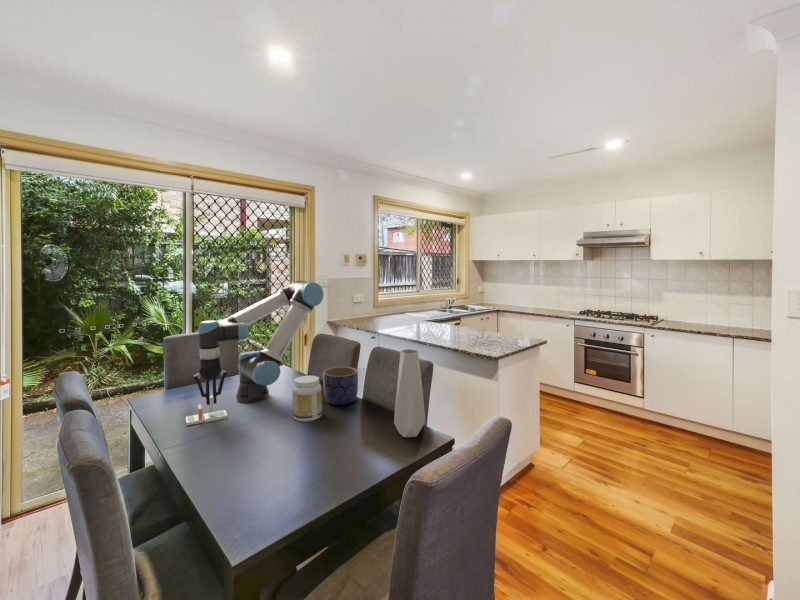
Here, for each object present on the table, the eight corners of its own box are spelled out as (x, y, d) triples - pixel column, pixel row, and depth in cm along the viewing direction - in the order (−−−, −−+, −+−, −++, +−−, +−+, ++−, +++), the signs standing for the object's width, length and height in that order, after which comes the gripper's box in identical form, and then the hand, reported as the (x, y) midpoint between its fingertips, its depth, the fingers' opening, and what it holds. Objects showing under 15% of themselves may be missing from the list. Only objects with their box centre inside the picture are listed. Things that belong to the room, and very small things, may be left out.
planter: (365, 399, 183) (365, 369, 182) (342, 410, 170) (342, 378, 168) (339, 393, 192) (339, 364, 191) (316, 403, 178) (315, 372, 177)
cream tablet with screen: (225, 412, 167) (225, 409, 167) (227, 418, 161) (227, 415, 161) (202, 416, 162) (202, 413, 162) (203, 422, 156) (203, 419, 156)
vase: (388, 429, 150) (388, 349, 147) (414, 425, 154) (415, 346, 151) (400, 443, 139) (400, 356, 136) (428, 437, 143) (429, 353, 140)
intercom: (201, 416, 162) (201, 403, 161) (203, 422, 156) (202, 408, 155) (185, 419, 159) (185, 406, 158) (186, 425, 153) (185, 411, 152)
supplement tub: (312, 409, 171) (311, 372, 169) (327, 416, 162) (327, 378, 161) (287, 416, 162) (286, 378, 161) (302, 425, 154) (301, 385, 152)
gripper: (225, 353, 165) (227, 405, 167) (191, 357, 158) (194, 411, 160) (227, 357, 159) (229, 411, 161) (192, 361, 152) (195, 417, 154)
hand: (211, 411), depth 160 cm, fingers closed
